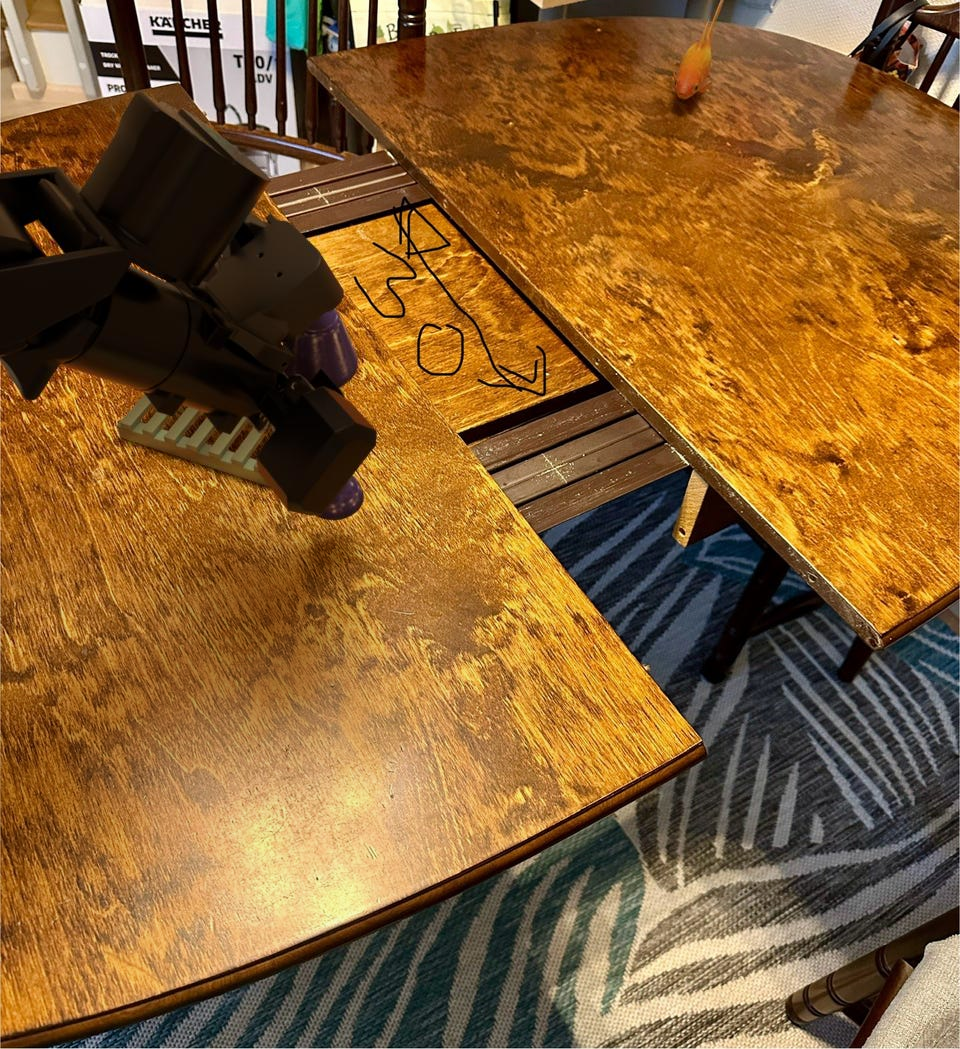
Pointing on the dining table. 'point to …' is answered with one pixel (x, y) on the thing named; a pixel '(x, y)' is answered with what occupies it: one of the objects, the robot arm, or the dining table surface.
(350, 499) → the toy lamp
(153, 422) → the rack
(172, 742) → the dining table surface
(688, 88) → the fish
